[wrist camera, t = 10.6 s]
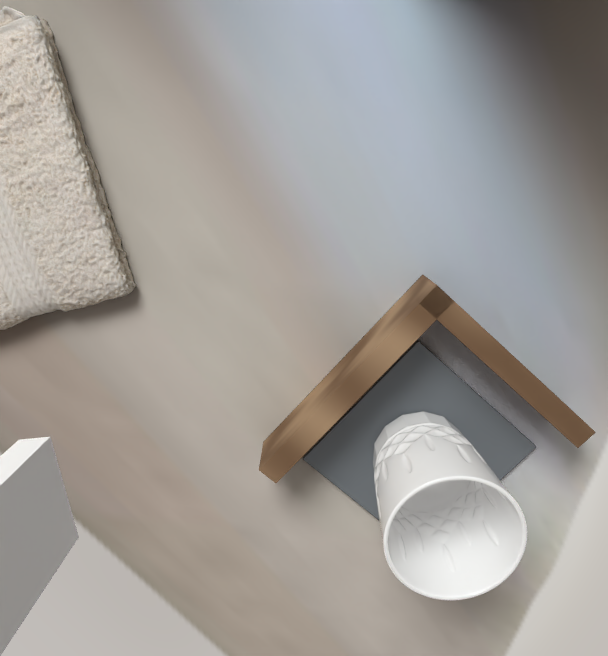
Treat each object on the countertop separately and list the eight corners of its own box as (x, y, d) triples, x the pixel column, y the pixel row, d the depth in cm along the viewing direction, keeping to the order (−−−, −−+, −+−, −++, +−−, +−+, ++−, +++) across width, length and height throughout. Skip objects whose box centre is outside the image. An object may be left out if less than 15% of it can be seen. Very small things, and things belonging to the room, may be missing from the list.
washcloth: (49, 7, 32) (22, -11, 29) (147, 290, 37) (133, 299, 34) (-130, 63, 33) (-173, 51, 30) (-13, 332, 38) (-41, 345, 35)
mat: (417, 340, 37) (418, 341, 37) (534, 444, 39) (536, 446, 39) (303, 457, 39) (303, 459, 39) (419, 550, 41) (419, 552, 41)
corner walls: (422, 274, 36) (436, 285, 32) (566, 407, 38) (595, 432, 34) (263, 441, 39) (258, 469, 35) (405, 554, 42) (415, 592, 38)
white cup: (435, 517, 40) (477, 621, 31) (344, 473, 39) (357, 566, 30) (493, 432, 39) (556, 515, 29) (399, 384, 38) (431, 452, 28)
